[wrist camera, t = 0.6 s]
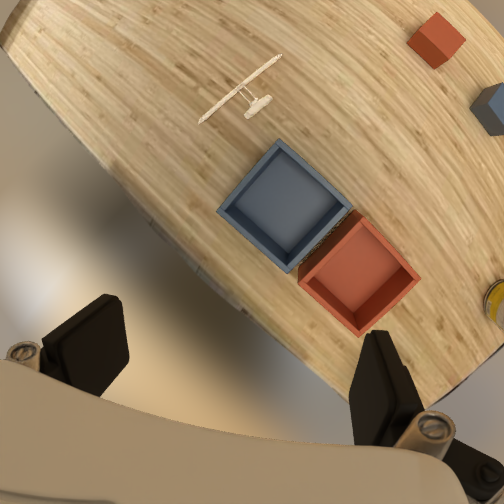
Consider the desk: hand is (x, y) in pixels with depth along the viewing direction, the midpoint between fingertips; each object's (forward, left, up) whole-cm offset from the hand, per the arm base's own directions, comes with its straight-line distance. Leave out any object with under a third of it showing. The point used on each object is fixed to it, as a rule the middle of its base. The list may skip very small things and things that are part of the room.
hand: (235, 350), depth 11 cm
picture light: (-9, -13, -29) cm, 33 cm away
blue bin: (-2, -1, -29) cm, 29 cm away
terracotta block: (-32, -1, -29) cm, 43 cm away
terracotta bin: (-2, +11, -29) cm, 31 cm away
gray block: (-32, +11, -29) cm, 44 cm away
